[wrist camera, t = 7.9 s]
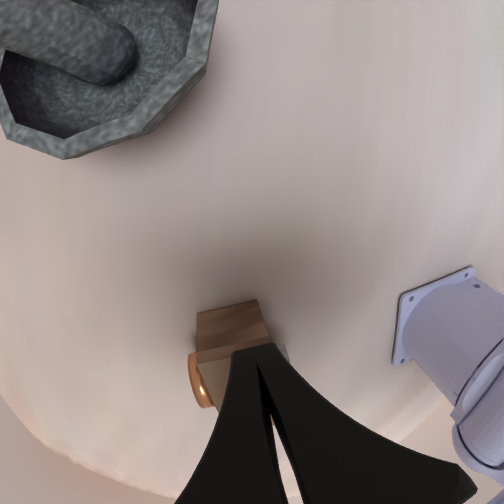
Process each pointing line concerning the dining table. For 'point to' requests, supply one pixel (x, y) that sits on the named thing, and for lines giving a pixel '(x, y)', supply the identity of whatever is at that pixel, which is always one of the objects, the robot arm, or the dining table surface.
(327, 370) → the dining table surface
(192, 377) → the pin
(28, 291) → the dining table surface
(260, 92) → the dining table surface
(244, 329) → the block
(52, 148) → the mortar and pestle
